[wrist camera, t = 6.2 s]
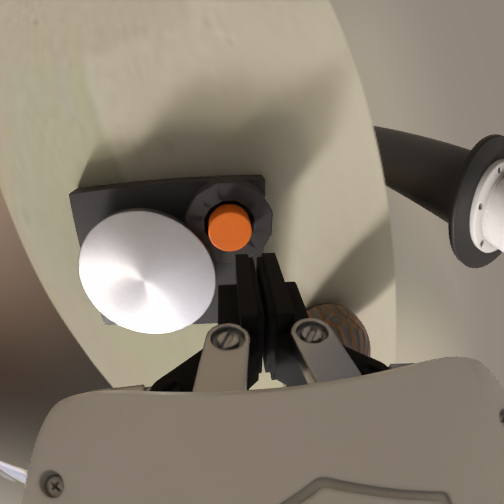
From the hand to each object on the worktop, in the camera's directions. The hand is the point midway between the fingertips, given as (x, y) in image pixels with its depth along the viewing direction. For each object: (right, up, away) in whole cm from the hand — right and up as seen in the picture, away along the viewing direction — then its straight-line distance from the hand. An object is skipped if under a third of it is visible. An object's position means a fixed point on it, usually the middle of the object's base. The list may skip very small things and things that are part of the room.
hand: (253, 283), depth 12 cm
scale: (-6, +1, +9) cm, 11 cm away
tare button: (-2, +3, +6) cm, 7 cm away
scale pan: (-7, 0, +7) cm, 10 cm away
